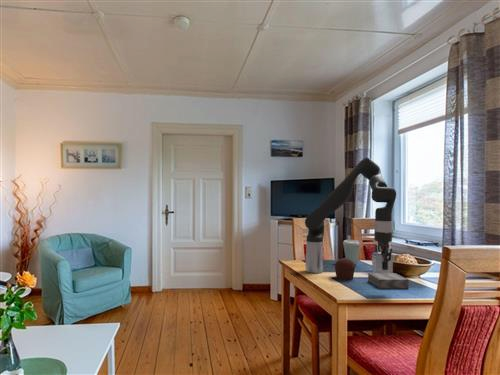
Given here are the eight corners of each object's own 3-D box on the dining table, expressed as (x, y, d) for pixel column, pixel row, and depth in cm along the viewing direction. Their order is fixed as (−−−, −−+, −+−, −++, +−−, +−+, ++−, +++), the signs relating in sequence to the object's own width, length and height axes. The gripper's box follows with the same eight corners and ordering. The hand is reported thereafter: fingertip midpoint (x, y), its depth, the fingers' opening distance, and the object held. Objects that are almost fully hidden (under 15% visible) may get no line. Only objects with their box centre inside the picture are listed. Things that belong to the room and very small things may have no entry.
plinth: (379, 288, 163) (379, 279, 163) (368, 280, 177) (368, 273, 177) (408, 288, 164) (408, 279, 164) (395, 280, 178) (395, 273, 178)
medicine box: (388, 271, 159) (388, 252, 159) (392, 273, 154) (393, 254, 155) (371, 271, 159) (372, 252, 159) (375, 273, 154) (375, 254, 154)
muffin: (331, 275, 190) (331, 256, 190) (352, 275, 190) (352, 257, 190) (337, 280, 178) (337, 260, 178) (358, 280, 178) (358, 261, 178)
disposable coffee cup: (362, 265, 217) (362, 241, 217) (344, 265, 217) (344, 241, 218) (357, 262, 228) (357, 239, 228) (340, 262, 228) (340, 239, 228)
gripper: (369, 229, 164) (368, 265, 164) (381, 232, 150) (380, 271, 149) (384, 229, 164) (384, 265, 164) (398, 232, 150) (398, 272, 149)
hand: (382, 268), depth 156 cm, fingers closed on medicine box, 4 cm apart
